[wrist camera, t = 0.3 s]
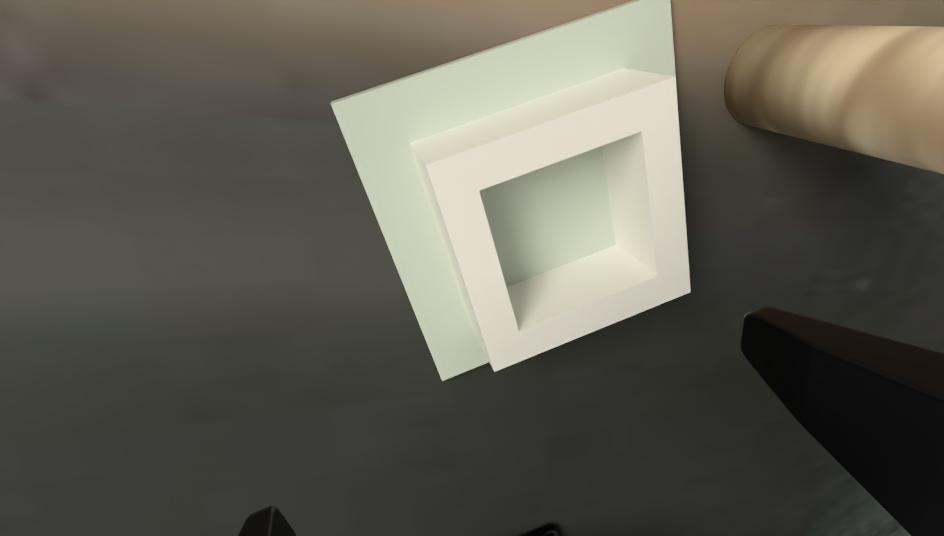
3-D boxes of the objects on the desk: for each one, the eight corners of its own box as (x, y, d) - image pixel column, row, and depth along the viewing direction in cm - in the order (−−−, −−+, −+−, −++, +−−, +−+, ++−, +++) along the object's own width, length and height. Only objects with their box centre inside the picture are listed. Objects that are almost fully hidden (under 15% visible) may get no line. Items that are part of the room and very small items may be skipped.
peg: (804, 108, 25) (1201, 182, 14) (725, 138, 25) (1070, 239, 13) (809, 11, 23) (1285, 5, 12) (722, 41, 22) (1130, 65, 11)
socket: (682, 276, 28) (736, 314, 24) (439, 373, 26) (458, 430, 23) (660, -9, 21) (731, -15, 17) (330, 101, 19) (333, 120, 16)
